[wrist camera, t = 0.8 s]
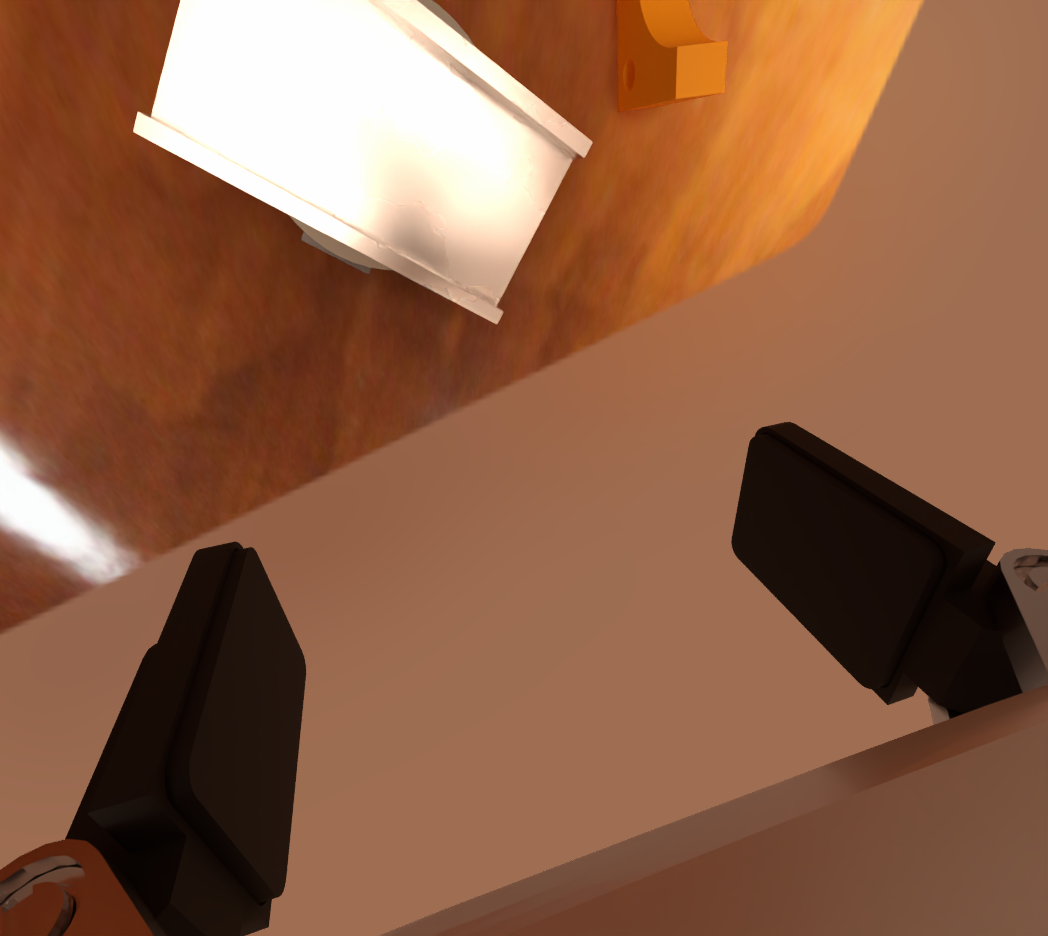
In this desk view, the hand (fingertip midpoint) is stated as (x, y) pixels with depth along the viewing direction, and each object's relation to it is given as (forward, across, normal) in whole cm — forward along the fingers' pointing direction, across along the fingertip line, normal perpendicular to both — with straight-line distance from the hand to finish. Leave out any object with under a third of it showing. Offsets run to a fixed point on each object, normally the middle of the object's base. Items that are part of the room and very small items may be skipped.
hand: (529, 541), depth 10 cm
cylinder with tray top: (+26, 0, -7) cm, 26 cm away
